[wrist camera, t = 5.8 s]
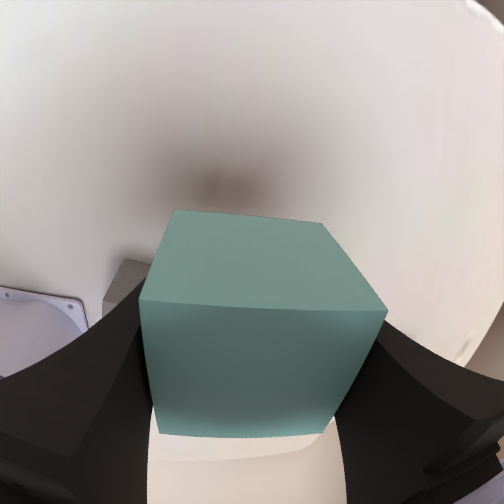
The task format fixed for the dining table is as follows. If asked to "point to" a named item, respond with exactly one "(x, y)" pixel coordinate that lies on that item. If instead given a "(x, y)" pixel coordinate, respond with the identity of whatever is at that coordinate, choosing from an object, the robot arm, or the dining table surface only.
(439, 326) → the dining table surface
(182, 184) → the dining table surface
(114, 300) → the grey block
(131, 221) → the dining table surface
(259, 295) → the teal block
